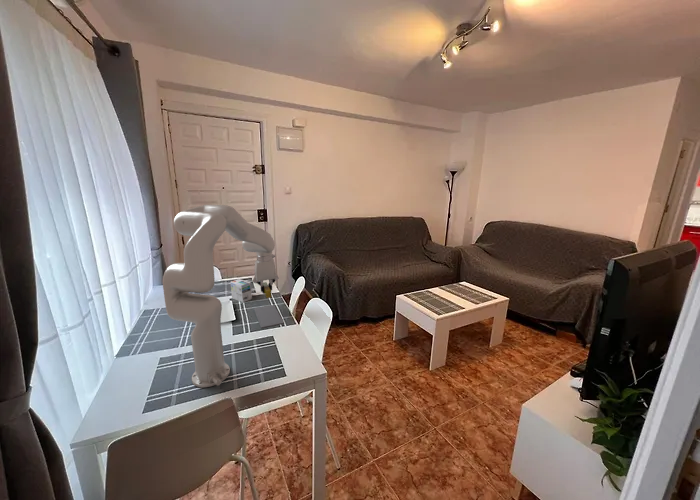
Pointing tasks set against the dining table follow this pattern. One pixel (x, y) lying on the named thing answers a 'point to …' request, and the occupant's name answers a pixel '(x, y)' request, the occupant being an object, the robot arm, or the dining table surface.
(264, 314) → the placemat
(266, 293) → the medication box
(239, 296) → the light bulb box
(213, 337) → the robot arm
